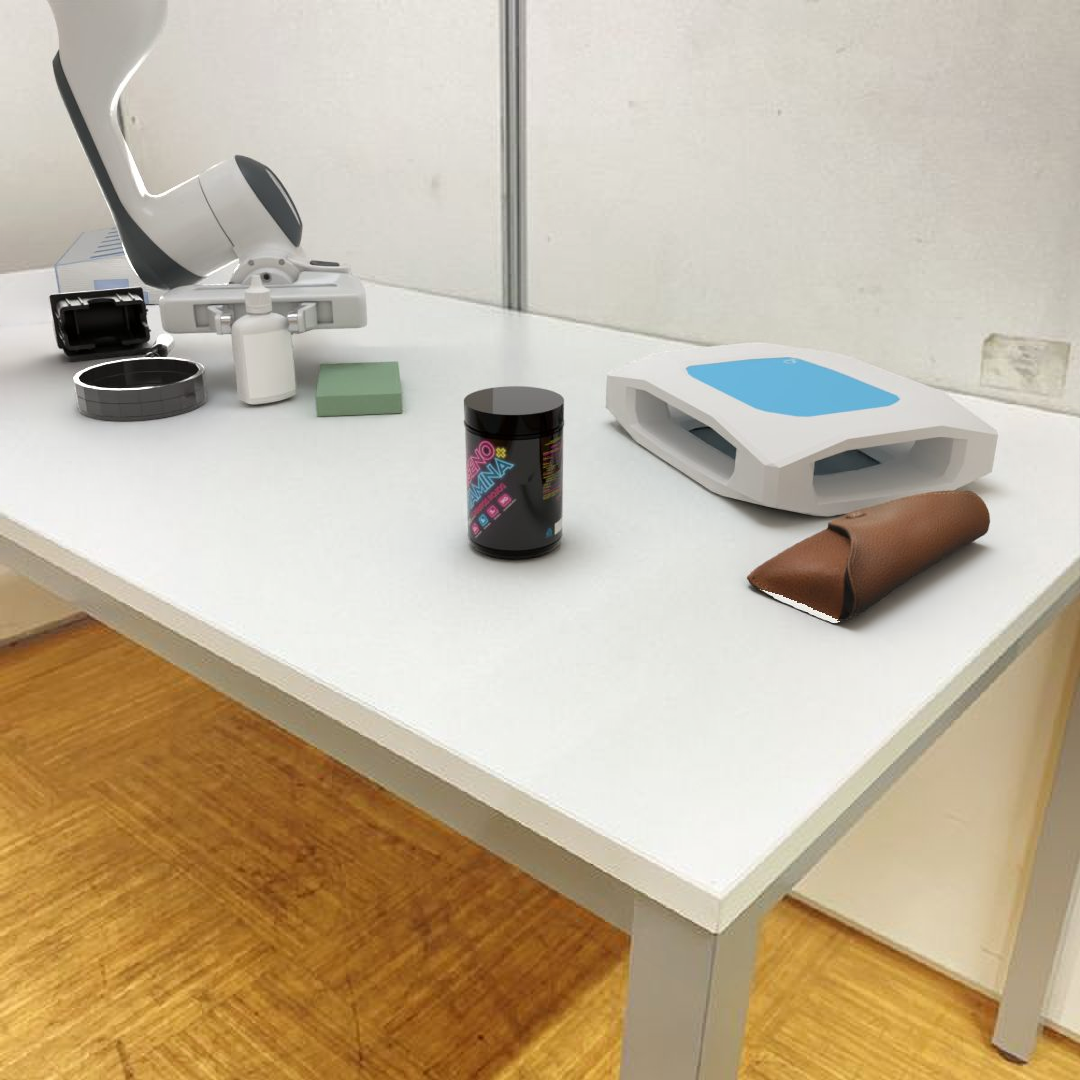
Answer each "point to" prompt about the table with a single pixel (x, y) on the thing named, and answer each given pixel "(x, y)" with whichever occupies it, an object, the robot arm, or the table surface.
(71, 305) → the end cap
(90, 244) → the warehouse
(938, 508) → the sunglasses case
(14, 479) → the table surface
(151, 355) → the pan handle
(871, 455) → the white step platform
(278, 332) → the eye dropper bottle
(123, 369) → the pan
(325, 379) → the block
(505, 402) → the supplement container
